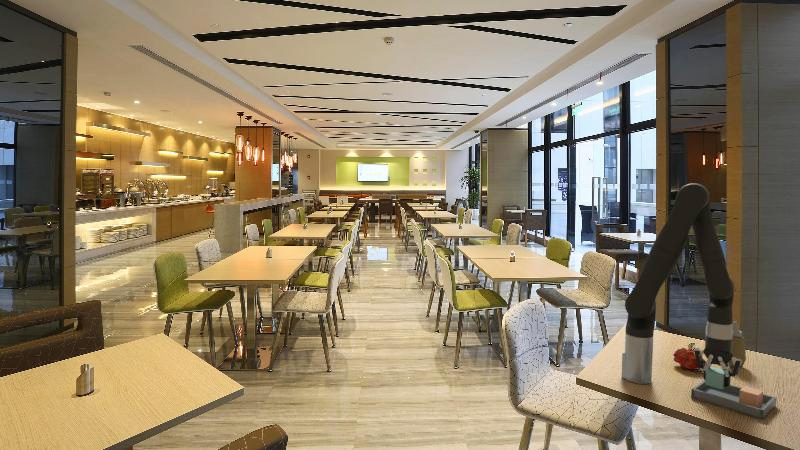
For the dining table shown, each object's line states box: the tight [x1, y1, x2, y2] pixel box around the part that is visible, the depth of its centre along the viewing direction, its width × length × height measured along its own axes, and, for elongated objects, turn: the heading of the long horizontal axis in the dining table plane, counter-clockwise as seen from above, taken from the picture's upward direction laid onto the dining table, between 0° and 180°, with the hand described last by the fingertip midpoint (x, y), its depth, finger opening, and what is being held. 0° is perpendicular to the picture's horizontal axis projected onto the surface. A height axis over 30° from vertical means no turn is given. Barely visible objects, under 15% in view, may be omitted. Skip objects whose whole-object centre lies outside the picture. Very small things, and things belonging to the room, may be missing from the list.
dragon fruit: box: [673, 347, 707, 372], centre depth 187 cm, size 8×8×12 cm
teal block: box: [705, 366, 725, 389], centre depth 162 cm, size 5×5×5 cm
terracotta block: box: [739, 385, 764, 408], centre depth 155 cm, size 5×5×5 cm
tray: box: [690, 379, 777, 421], centre depth 159 cm, size 20×14×3 cm
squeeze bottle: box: [728, 320, 747, 369], centre depth 189 cm, size 8×8×18 cm
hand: (716, 383), depth 162 cm, fingers closed on teal block, 5 cm apart
